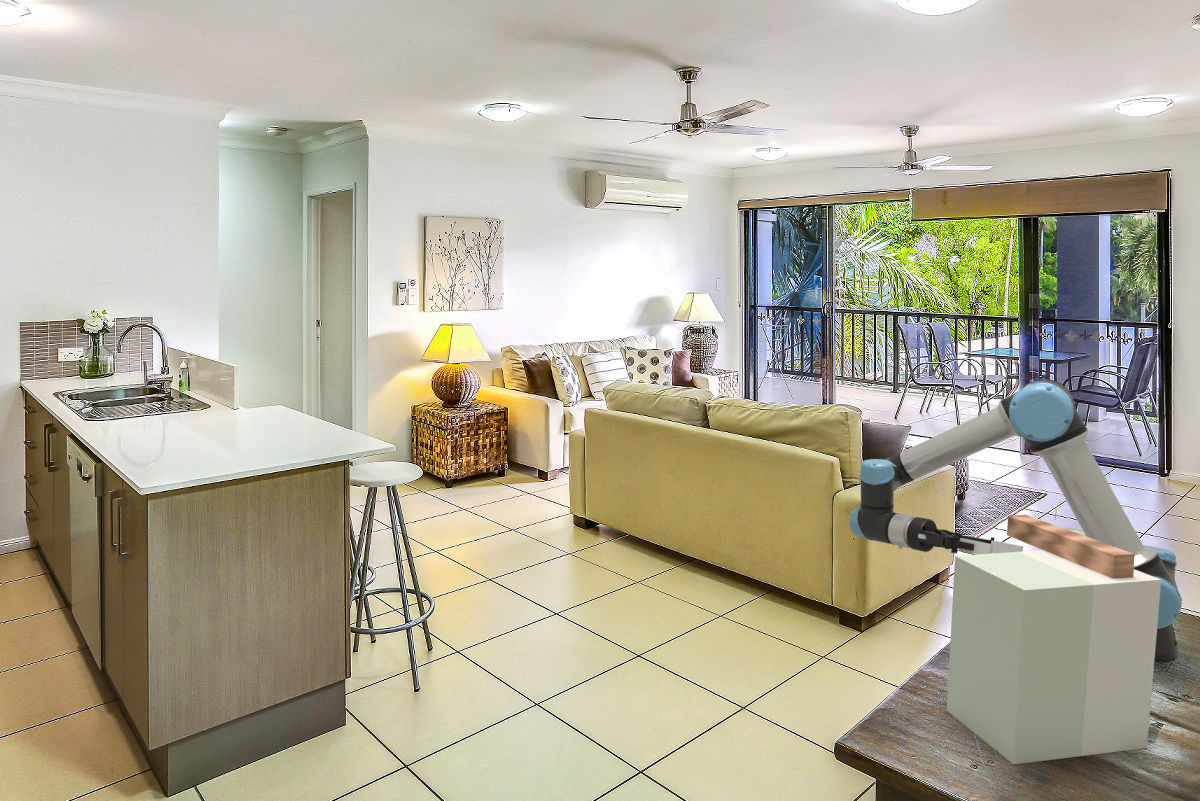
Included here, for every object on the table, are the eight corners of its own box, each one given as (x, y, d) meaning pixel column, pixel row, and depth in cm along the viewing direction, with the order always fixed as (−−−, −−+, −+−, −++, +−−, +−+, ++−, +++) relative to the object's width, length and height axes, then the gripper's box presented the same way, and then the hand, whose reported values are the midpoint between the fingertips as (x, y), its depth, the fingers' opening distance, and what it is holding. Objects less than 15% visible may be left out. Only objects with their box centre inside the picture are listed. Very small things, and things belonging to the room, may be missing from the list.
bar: (1006, 535, 159) (1008, 515, 159) (1024, 534, 160) (1025, 514, 159) (1112, 578, 134) (1114, 555, 133) (1133, 577, 135) (1135, 554, 134)
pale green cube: (946, 710, 149) (954, 556, 146) (1067, 697, 154) (1078, 547, 151) (1013, 764, 132) (1024, 590, 128) (1146, 748, 137) (1161, 579, 133)
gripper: (940, 550, 191) (1031, 570, 174) (881, 547, 176) (974, 568, 159) (944, 519, 192) (1035, 536, 175) (885, 513, 176) (979, 531, 160)
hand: (1006, 551), depth 167 cm, fingers open, 13 cm apart
